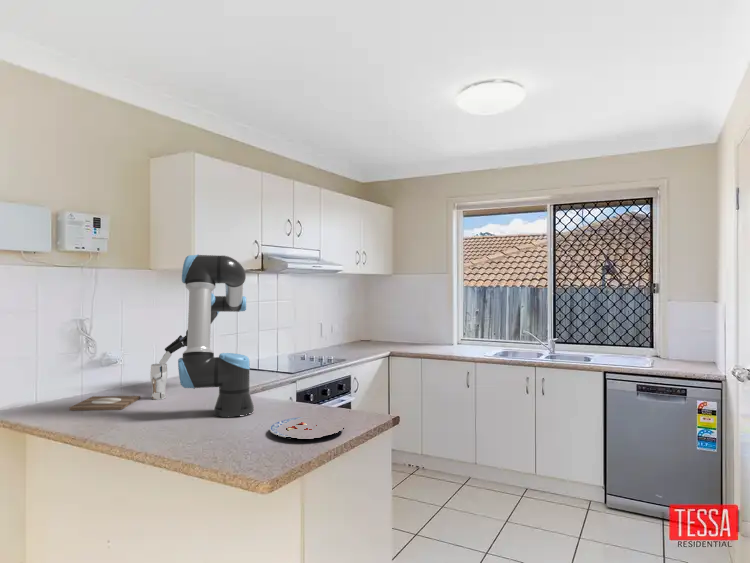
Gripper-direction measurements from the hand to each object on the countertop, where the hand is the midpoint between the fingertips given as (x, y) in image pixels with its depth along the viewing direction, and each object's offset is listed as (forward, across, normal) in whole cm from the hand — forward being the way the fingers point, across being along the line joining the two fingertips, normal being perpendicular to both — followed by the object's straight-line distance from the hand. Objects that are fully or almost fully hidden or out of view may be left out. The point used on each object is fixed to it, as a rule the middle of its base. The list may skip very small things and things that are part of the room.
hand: (171, 365), depth 231 cm
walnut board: (+28, +9, +9) cm, 30 cm away
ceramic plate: (+23, -88, +3) cm, 91 cm away
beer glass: (+15, -1, -4) cm, 16 cm away
